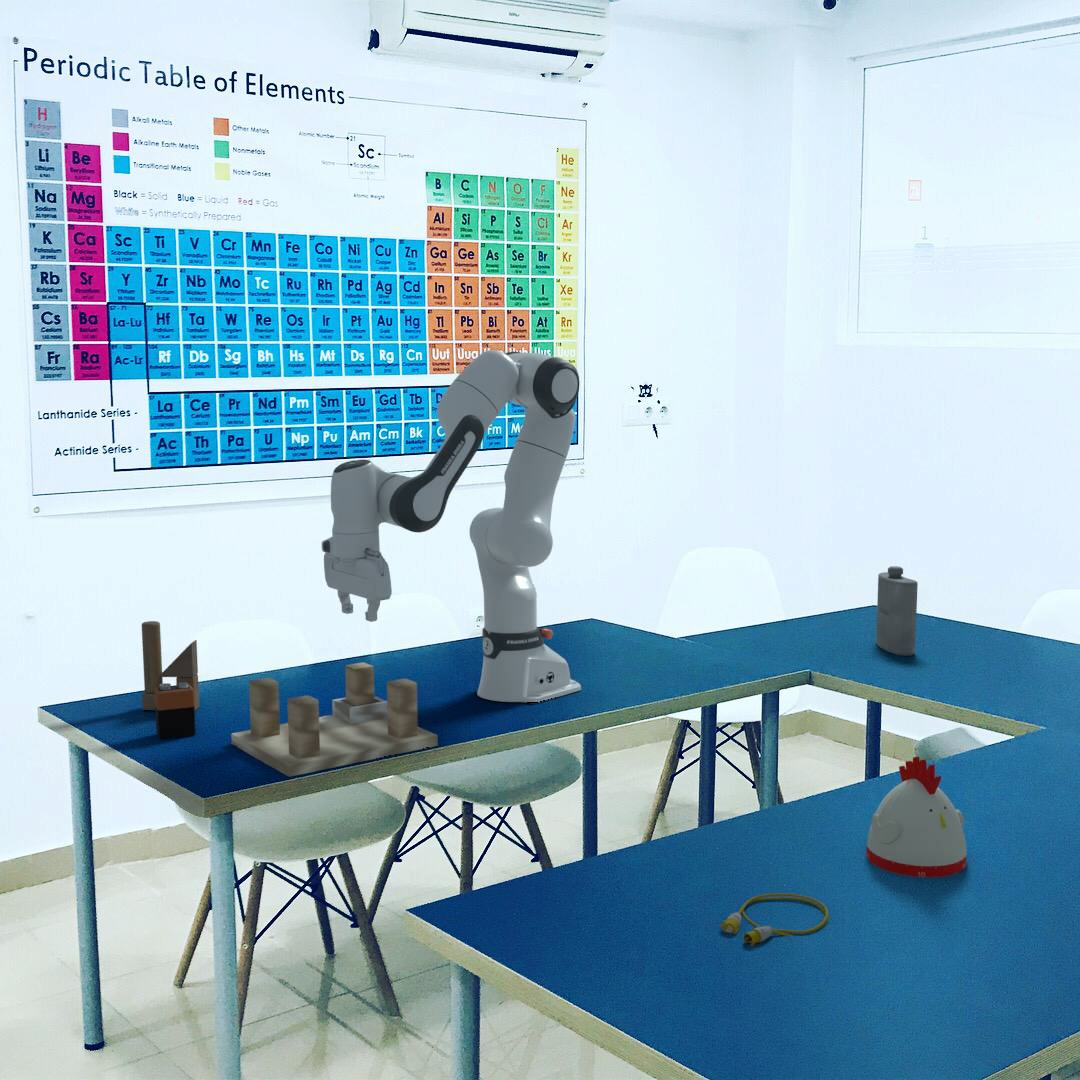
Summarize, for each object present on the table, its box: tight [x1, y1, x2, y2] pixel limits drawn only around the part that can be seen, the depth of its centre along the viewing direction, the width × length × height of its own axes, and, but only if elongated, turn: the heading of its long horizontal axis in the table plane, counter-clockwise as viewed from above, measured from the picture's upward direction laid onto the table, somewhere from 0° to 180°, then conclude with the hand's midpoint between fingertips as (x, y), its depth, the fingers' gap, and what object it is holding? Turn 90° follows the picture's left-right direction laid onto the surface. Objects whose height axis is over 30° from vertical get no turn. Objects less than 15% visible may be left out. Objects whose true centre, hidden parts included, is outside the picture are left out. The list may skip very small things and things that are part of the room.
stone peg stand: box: [231, 677, 439, 778], centre depth 250 cm, size 30×24×12 cm
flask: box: [875, 565, 918, 657], centre depth 325 cm, size 15×6×20 cm, turn 9°
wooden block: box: [141, 620, 200, 711], centre depth 274 cm, size 4×11×18 cm, turn 87°
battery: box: [155, 682, 197, 740], centre depth 257 cm, size 4×7×10 cm, turn 114°
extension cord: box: [720, 892, 829, 947], centre depth 175 cm, size 12×16×2 cm
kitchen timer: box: [865, 756, 967, 878], centre depth 194 cm, size 14×14×15 cm
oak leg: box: [344, 662, 375, 707], centre depth 262 cm, size 4×4×10 cm
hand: (359, 617), depth 260 cm, fingers open, 8 cm apart
